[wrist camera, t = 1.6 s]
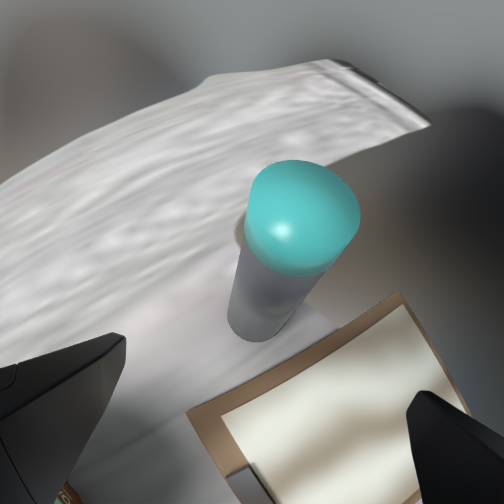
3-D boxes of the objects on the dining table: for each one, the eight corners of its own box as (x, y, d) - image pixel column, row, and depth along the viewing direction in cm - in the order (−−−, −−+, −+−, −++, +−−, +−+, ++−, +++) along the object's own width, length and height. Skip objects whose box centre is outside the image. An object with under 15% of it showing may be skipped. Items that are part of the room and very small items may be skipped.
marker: (294, 326, 23) (381, 226, 11) (243, 353, 21) (291, 270, 10) (265, 279, 24) (318, 150, 13) (215, 302, 23) (230, 176, 11)
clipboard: (475, 433, 19) (486, 431, 18) (301, 578, 13) (306, 585, 11) (394, 292, 25) (402, 285, 24) (186, 412, 19) (184, 412, 17)
